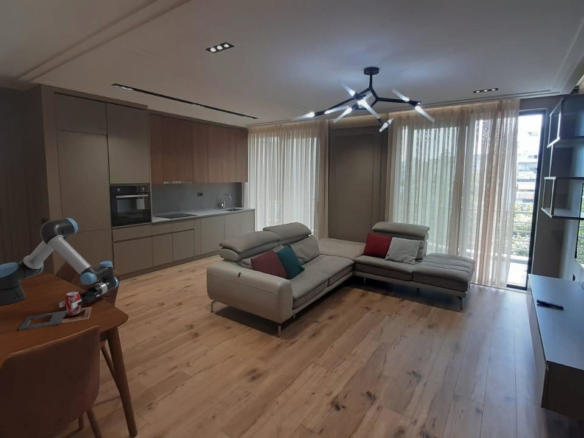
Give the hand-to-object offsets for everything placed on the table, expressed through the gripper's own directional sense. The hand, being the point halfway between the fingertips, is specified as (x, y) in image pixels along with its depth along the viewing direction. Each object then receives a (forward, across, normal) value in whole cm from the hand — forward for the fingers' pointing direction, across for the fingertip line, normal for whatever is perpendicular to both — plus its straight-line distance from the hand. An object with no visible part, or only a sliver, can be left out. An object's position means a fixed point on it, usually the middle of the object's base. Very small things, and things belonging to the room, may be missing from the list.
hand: (66, 305), depth 178 cm
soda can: (-5, 0, -7) cm, 8 cm away
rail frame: (0, +7, -8) cm, 11 cm away
